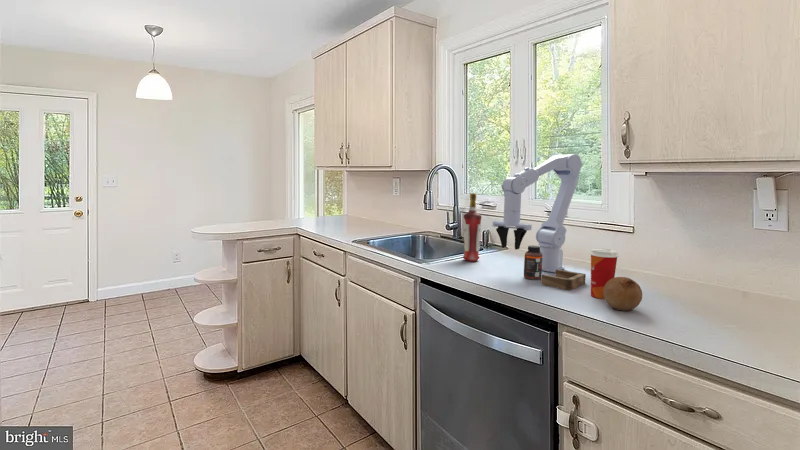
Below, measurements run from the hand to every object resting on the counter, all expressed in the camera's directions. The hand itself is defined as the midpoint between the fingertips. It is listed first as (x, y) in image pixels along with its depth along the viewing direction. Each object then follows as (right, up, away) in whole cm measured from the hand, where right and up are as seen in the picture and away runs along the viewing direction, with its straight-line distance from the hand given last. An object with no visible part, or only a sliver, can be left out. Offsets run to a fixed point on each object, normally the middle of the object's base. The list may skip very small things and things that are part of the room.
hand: (510, 248), depth 153 cm
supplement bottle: (+6, -10, -5) cm, 13 cm away
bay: (+14, -11, -13) cm, 22 cm away
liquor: (-10, -7, +24) cm, 26 cm away
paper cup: (+20, -13, -26) cm, 36 cm away
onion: (+20, -15, -38) cm, 45 cm away
